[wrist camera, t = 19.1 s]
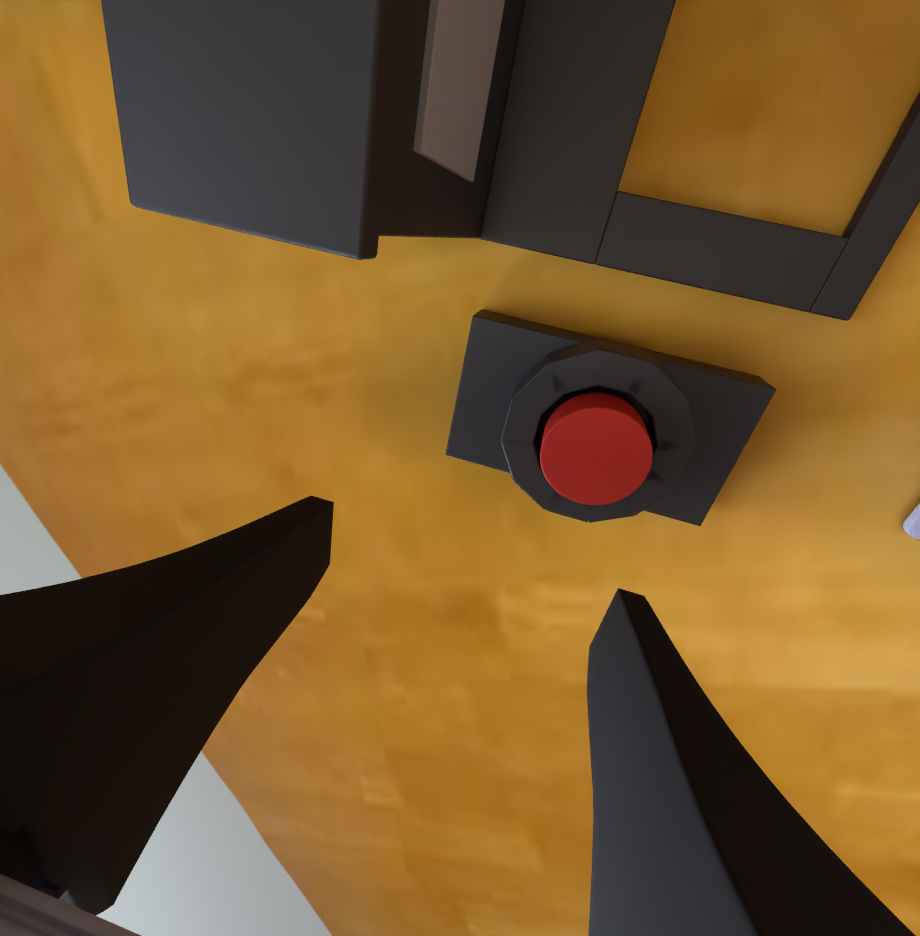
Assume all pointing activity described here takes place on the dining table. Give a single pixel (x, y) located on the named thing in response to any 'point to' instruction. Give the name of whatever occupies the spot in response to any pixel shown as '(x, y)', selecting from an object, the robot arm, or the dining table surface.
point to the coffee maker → (452, 138)
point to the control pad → (612, 372)
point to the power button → (595, 449)
